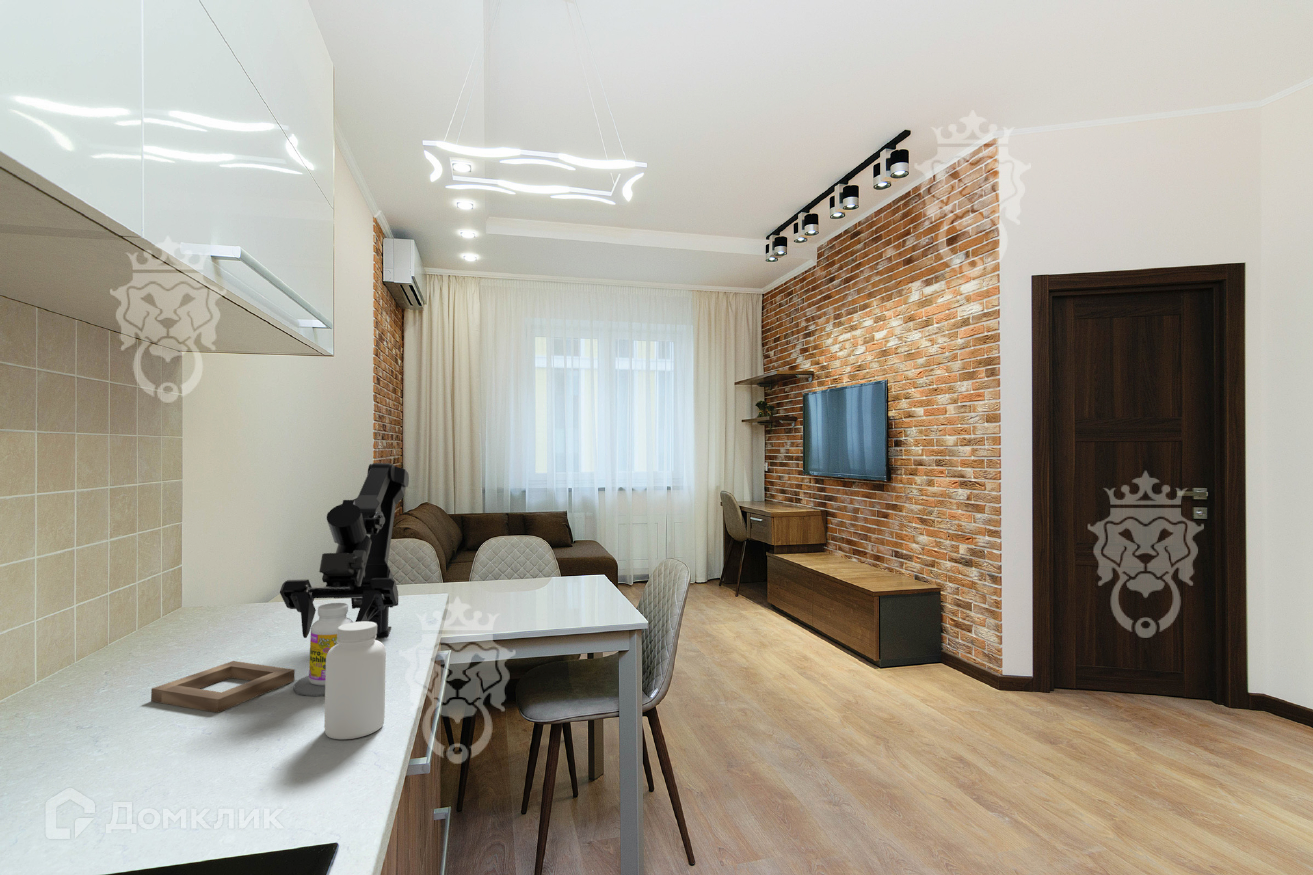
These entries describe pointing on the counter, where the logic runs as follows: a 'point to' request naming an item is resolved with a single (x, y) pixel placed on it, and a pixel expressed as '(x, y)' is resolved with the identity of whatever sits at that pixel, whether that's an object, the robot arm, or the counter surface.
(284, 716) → the counter surface
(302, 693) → the coaster
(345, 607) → the supplement bottle
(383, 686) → the pill bottle
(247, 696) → the pocket block
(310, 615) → the robot arm
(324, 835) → the counter surface
